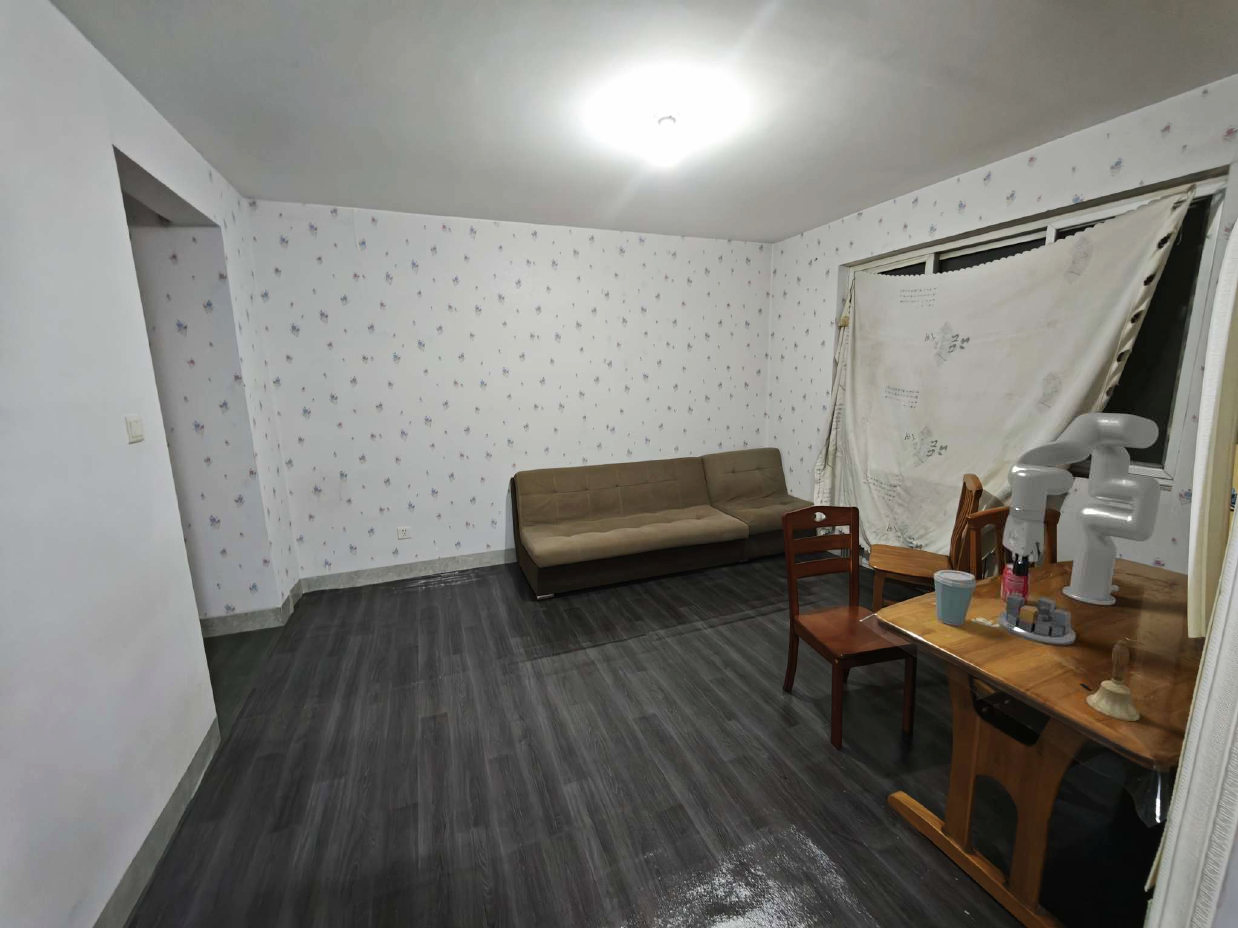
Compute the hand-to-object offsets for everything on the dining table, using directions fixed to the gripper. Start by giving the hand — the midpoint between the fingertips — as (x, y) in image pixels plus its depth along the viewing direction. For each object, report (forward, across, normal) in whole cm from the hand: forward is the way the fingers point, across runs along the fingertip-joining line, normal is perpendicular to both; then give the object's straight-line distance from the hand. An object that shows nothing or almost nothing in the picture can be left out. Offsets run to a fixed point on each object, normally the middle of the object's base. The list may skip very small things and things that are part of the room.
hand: (1020, 574), depth 140 cm
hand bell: (+15, +37, -3) cm, 41 cm away
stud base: (+16, +2, +4) cm, 17 cm away
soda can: (+17, -17, +10) cm, 26 cm away
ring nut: (+14, +2, +4) cm, 15 cm away
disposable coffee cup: (+16, -1, -17) cm, 23 cm away
